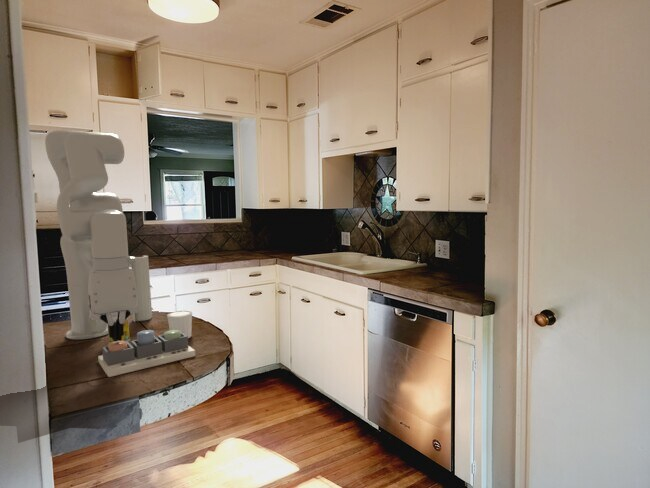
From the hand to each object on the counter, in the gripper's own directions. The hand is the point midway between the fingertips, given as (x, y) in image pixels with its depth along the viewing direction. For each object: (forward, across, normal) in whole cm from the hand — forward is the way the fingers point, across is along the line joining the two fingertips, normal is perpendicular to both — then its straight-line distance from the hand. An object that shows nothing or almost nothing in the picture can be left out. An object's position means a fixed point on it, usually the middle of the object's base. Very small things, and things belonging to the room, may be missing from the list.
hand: (116, 339), depth 103 cm
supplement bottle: (+7, -4, -18) cm, 20 cm away
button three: (+4, -13, +1) cm, 14 cm away
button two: (+3, -6, +1) cm, 7 cm away
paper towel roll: (+7, -15, -39) cm, 43 cm away
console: (+6, -6, +1) cm, 9 cm away
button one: (+4, 0, +1) cm, 4 cm away
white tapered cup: (+7, -19, -11) cm, 23 cm away
